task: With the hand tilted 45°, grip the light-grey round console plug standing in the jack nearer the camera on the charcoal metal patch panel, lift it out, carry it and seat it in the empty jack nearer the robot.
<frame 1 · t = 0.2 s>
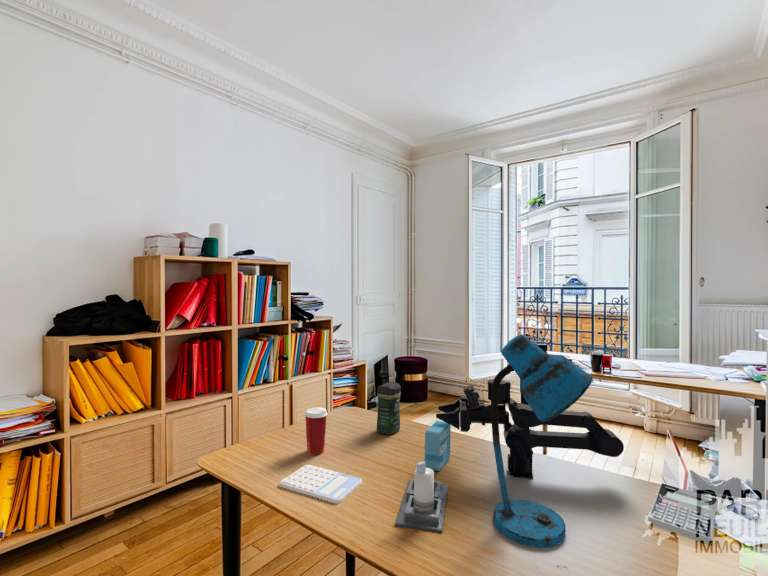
hand: (437, 411, 124), 17 cm above the table, tool horizontal, fingers open, 9 cm apart
plug: (423, 512, 96), point 1 cm above the table, touching panel
panel: (423, 504, 101), on the table
data package: (437, 464, 125), on the table
calculator: (321, 486, 111), on the table
paper cup: (315, 452, 133), on the table
coffee jar: (388, 431, 153), on the table
desk lamp: (537, 527, 92), on the table
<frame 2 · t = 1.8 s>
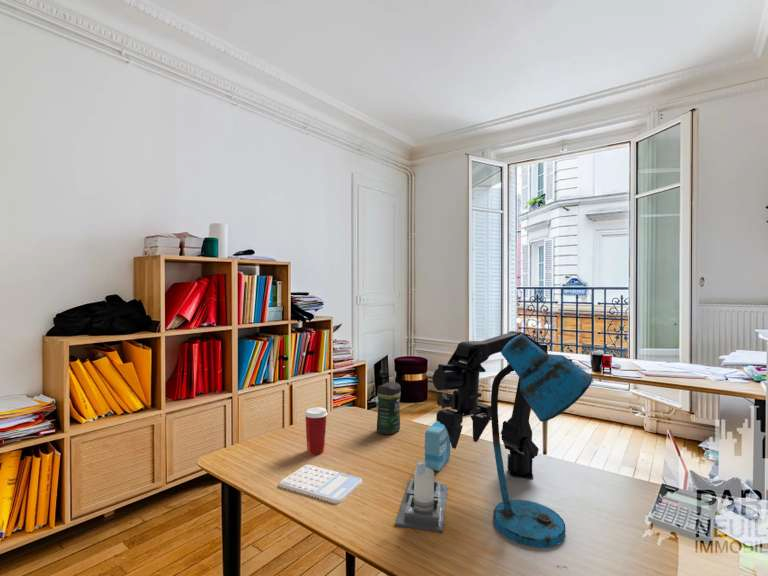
hand: (464, 444, 108), 13 cm above the table, tool pointing down, fingers open, 9 cm apart
nothing on the table moved.
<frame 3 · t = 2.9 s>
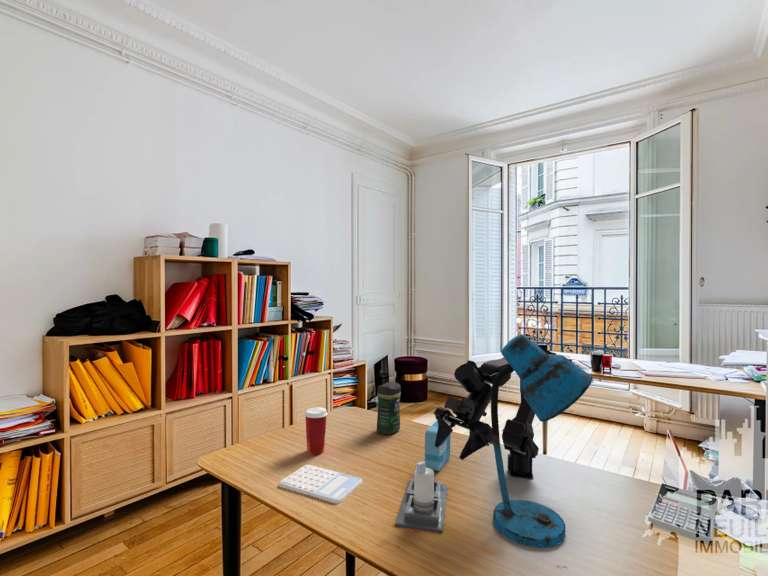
hand: (447, 452, 101), 13 cm above the table, tool tilted 45°, fingers open, 9 cm apart
nothing on the table moved.
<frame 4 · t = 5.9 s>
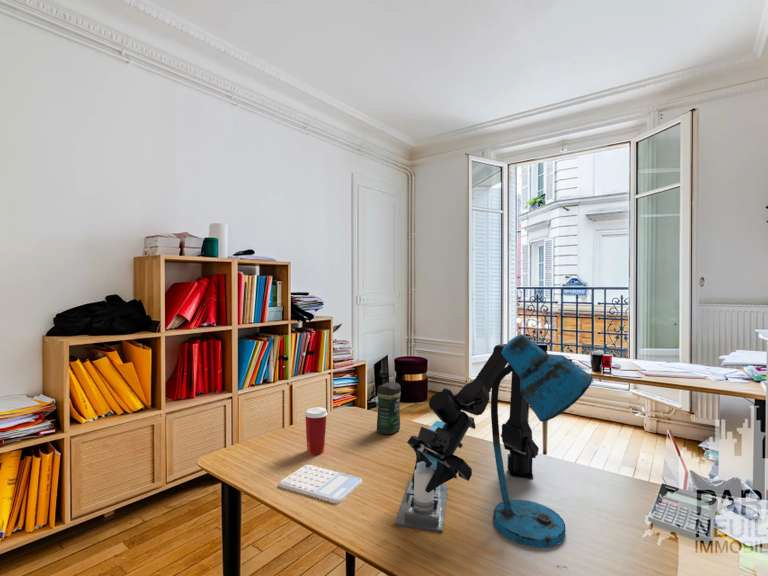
hand: (419, 487, 96), 7 cm above the table, tool tilted 45°, fingers closed on plug, 5 cm apart
plug: (423, 512, 96), point 1 cm above the table, touching gripper, panel
everything else where it was.
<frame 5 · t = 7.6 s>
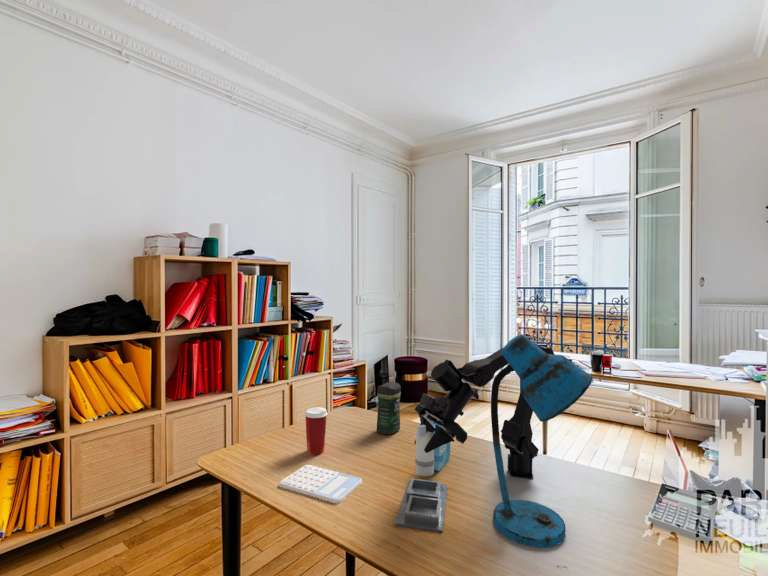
hand: (420, 448, 104), 13 cm above the table, tool tilted 45°, fingers closed on plug, 5 cm apart
plug: (424, 471, 105), point 7 cm above the table, touching gripper
everything else where it was.
when the fingers open (8 cm above the table, at t = 9.2 s): plug drops 1 cm, resting on panel.
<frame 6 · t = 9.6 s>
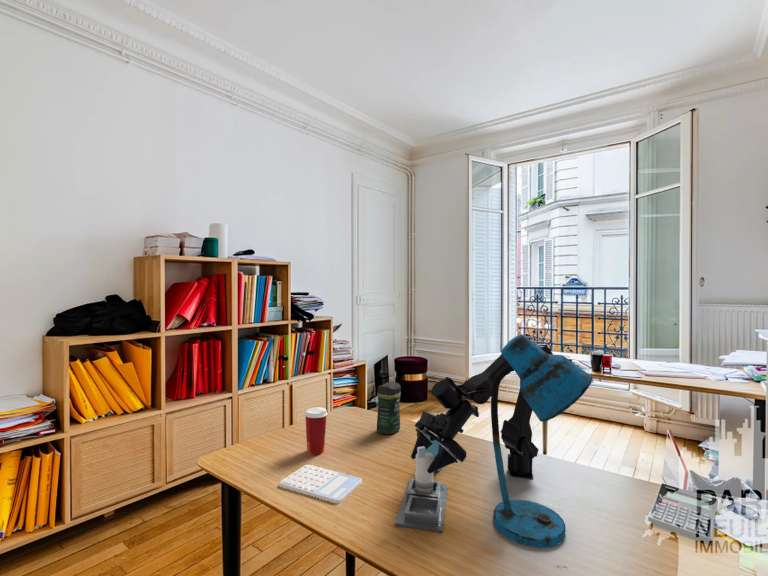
hand: (419, 465, 105), 8 cm above the table, tool tilted 45°, fingers open, 9 cm apart
plug: (424, 493, 106), point 1 cm above the table, touching panel
everything else where it was.
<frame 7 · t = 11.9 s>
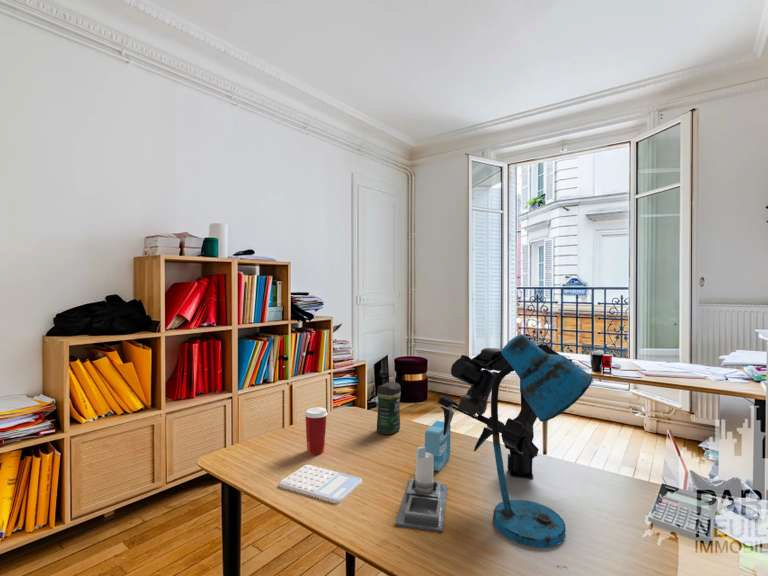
hand: (459, 443, 109), 13 cm above the table, tool tilted 25°, fingers open, 9 cm apart
nothing on the table moved.
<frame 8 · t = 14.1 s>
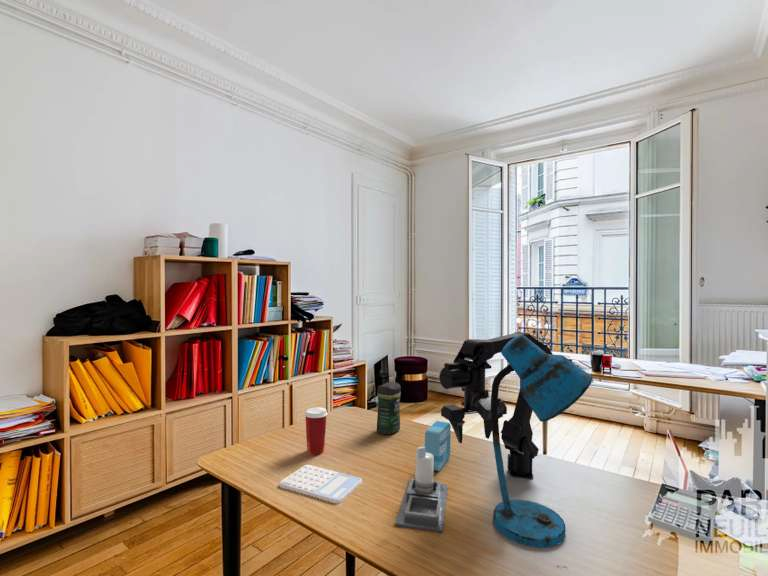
hand: (474, 440, 110), 13 cm above the table, tool pointing down, fingers open, 9 cm apart
nothing on the table moved.
at the end: plug 0.0 cm from the target spot on the panel, point 0.6 cm above the panel's base; plug tilted 0°; the gripper is holding nothing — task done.
